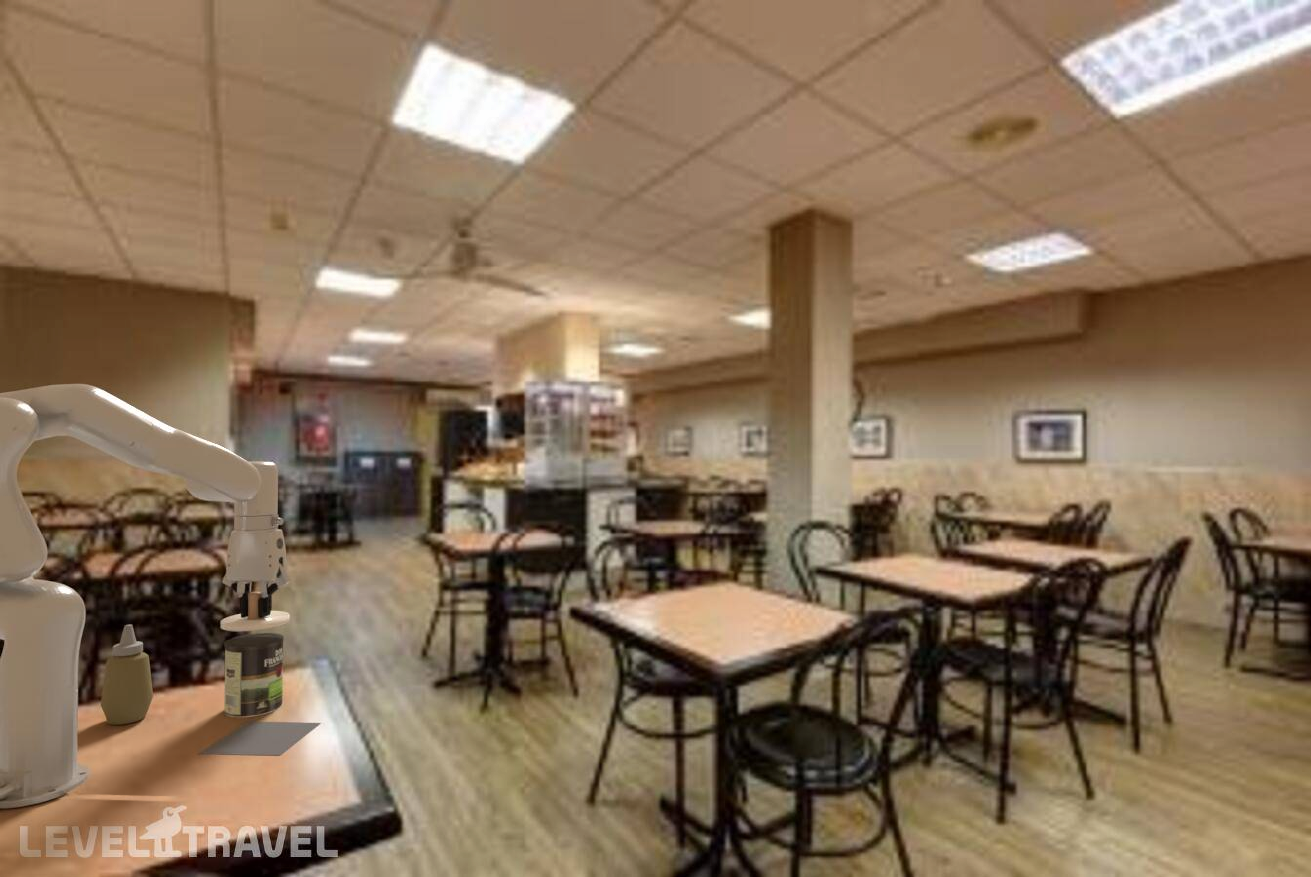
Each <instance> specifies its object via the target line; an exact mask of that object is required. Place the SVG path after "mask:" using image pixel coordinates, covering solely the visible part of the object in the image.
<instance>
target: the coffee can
mask: <svg viewBox="0 0 1311 877" xmlns="http://www.w3.org/2000/svg"><path fill="white" fill-rule="evenodd" d="M284 641H285V636H284V635H283V634H280V633H273V632H260V633H258V632H257V633H251V634H244V635H240V636H235V637H232V638H230V639H228V640H225V642H224V650H225V652H224V711H223V712H224V715H226V716H228V717H231V718H250V717H257V716H258V717H259V716H263V715H266V714H269V713H272V712H275V711H277V710H278V709H280V708H281V707H283V694H284V692H283V687H284V685H283V684H284V682H283V679H284V678H283V677H284V676H283V674H284V671H283V670H284Z"/></svg>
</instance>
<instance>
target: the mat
mask: <svg viewBox="0 0 1311 877" xmlns="http://www.w3.org/2000/svg"><path fill="white" fill-rule="evenodd" d="M321 723H322V722H295V721H292V722H291V721H290V722H288V721H250V720H248V721H246V722H245V723H243V724H241V725H240V726H239V727H238V726H237V728H235V729H234V730H232V731H231V732H229V733H228V734H227V735H225V736H223V737H221V738H220V739H219V740H217V741H215V742H214V743H212V744H211V745H210V746H208V747H206V748H205V749H203V750H202V751H200V752H199V753H198V755H227V756H229V755H230V756H260V757H261V756H263V757H264V756H265V757H266V756H267V757H269V756H270V757H271V756H272V757H273V756H274V757H280V756H283V754H284V753H286V752H287V751H288V750H289V749H291V748H292V747H294V745H296V744H297V743H298V742H299V741H301V740H302V739H304V738H305V736H307V735H308V734H309V733H311V732H312V731H313V730H315V729H316V728H317V727H319V726H320V725H321Z"/></svg>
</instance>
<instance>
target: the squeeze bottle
mask: <svg viewBox="0 0 1311 877" xmlns="http://www.w3.org/2000/svg"><path fill="white" fill-rule="evenodd" d="M149 656H150V655H149V654H147V653H146V652H144V643H143V641H139V640H138V641H137V638H136V635H135V630H134V627H133V624H125V625H124V627H123V630H122V633H121V638H120V642H119V643H117V644H114V645H113V646H112V656H111V657H110V658H108V659H107V660H106V663H105V669H104V670H105V671H104V679H103V684H102V692H101V699H100V700H101V701H100V707H101V709H102V711H103V715H104V716H105V719H106V721H107V723H108V724H109V725H114V726H116V725H126V724H131V723H135V722H136V723H137V722H138V721H141V720H143V719H145V718H146V716H147V714H148V711H149V709H150V706H151V704H152V700H153V698H154V693H153V683H152V682H153V681H152V673H151V666H150V665H151V664H150V657H149Z"/></svg>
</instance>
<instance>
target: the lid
mask: <svg viewBox="0 0 1311 877" xmlns="http://www.w3.org/2000/svg"><path fill="white" fill-rule="evenodd" d="M260 597H261V590H260V591H251V592H250V593H248V617H245V618H241V613H239V614H234V615H230V616H227V617H225V618H223V619H221V620H220V629H221V630H224V631H227V632H253V631H262V630H266V629H273V628H277V627H280V626H283V625H286V624H288V623H289V622H290V621H291V615H290V613H289V612H287V611H282V610H281V611H280V610H271V612H270V615H268V616H266V617H264V618H259V617H258V599H259V598H260Z"/></svg>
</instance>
